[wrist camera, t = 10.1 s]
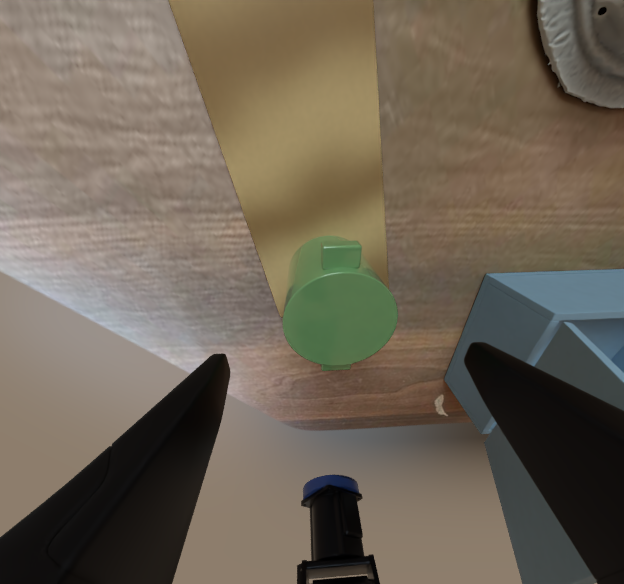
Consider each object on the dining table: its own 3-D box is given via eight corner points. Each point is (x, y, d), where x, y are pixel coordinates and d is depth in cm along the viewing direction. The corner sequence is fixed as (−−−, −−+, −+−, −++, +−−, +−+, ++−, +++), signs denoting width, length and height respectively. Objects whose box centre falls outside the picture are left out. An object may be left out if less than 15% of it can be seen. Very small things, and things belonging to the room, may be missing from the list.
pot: (361, 315, 17) (386, 376, 12) (291, 318, 17) (287, 380, 12) (372, 218, 13) (413, 248, 8) (284, 220, 13) (275, 252, 8)
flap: (489, 444, 16) (483, 442, 16) (572, 322, 11) (563, 321, 11) (536, 607, 10) (527, 602, 10) (771, 514, 5) (746, 507, 5)
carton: (443, 379, 21) (480, 434, 17) (485, 273, 16) (555, 313, 12) (595, 371, 22) (669, 423, 17) (685, 266, 16) (826, 302, 12)
